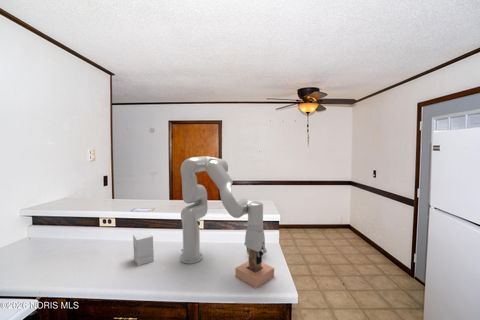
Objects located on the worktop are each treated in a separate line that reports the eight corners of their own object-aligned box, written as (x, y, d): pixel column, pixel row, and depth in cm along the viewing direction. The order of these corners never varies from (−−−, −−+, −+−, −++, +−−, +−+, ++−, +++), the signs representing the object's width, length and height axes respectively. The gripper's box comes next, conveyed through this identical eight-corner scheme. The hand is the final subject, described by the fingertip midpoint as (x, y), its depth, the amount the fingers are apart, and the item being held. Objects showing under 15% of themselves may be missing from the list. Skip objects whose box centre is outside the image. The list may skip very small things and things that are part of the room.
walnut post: (248, 270, 123) (248, 245, 122) (254, 267, 126) (254, 242, 125) (255, 273, 120) (255, 248, 119) (261, 270, 123) (261, 245, 122)
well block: (235, 276, 123) (235, 267, 123) (253, 266, 133) (253, 258, 133) (255, 288, 114) (255, 279, 113) (274, 276, 123) (274, 268, 123)
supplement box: (149, 255, 145) (149, 231, 144) (154, 261, 138) (153, 236, 136) (133, 259, 140) (132, 234, 138) (137, 266, 132) (136, 239, 131)
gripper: (238, 224, 125) (238, 258, 126) (263, 233, 113) (263, 270, 114) (248, 220, 130) (248, 253, 131) (273, 229, 118) (272, 264, 119)
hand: (255, 261), depth 123 cm, fingers closed on walnut post, 4 cm apart
